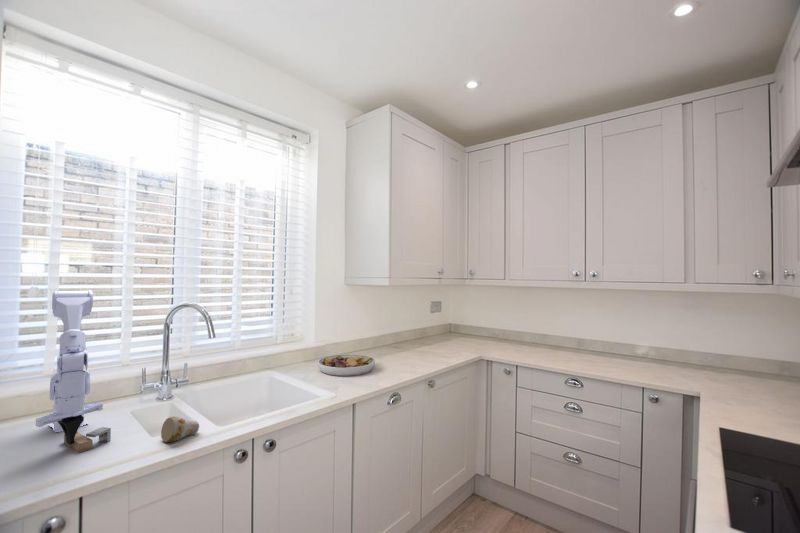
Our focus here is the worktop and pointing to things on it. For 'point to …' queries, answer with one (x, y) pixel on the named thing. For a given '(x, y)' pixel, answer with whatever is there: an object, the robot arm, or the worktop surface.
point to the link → (80, 443)
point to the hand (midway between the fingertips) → (70, 443)
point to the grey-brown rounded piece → (178, 428)
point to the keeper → (101, 434)
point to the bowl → (346, 364)
